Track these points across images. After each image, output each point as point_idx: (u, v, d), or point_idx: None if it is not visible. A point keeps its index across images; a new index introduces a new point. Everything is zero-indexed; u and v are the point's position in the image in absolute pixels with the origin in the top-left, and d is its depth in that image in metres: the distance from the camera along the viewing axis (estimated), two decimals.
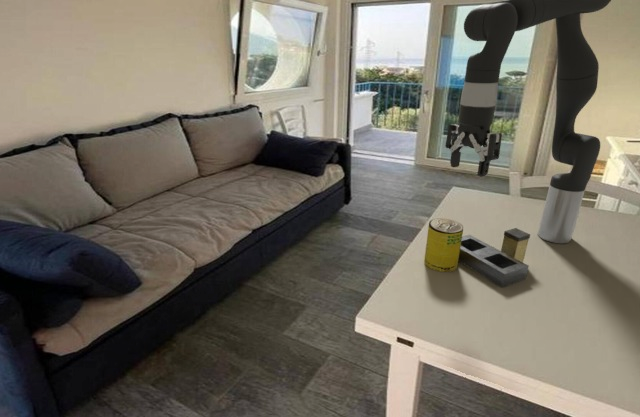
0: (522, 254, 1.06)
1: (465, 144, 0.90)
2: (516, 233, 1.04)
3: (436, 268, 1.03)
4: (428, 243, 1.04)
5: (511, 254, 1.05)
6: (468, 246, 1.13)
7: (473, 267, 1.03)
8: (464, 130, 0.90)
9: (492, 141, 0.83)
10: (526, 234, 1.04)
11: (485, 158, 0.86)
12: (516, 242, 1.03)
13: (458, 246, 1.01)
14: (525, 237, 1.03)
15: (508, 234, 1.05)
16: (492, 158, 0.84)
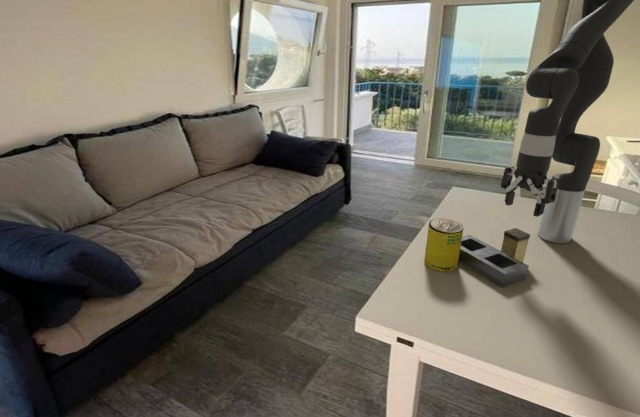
0: (522, 254, 1.06)
1: (521, 186, 1.00)
2: (516, 233, 1.04)
3: (436, 268, 1.03)
4: (428, 243, 1.04)
5: (511, 254, 1.05)
6: (468, 246, 1.13)
7: (473, 267, 1.03)
8: (521, 174, 0.99)
9: (550, 187, 0.93)
10: (526, 234, 1.04)
11: (542, 201, 0.95)
12: (516, 242, 1.03)
13: (458, 246, 1.01)
14: (525, 237, 1.03)
15: (508, 234, 1.05)
16: (549, 202, 0.94)
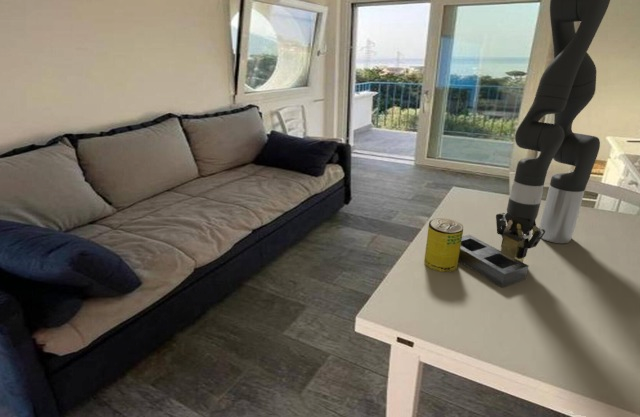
0: None
1: (515, 230, 1.04)
2: (516, 233, 1.04)
3: (436, 268, 1.03)
4: (428, 243, 1.04)
5: (511, 254, 1.05)
6: (468, 246, 1.13)
7: (473, 267, 1.03)
8: (510, 218, 1.04)
9: (536, 236, 0.98)
10: None
11: (524, 245, 1.02)
12: (516, 242, 1.03)
13: (458, 246, 1.01)
14: None
15: (508, 234, 1.05)
16: (531, 247, 1.01)
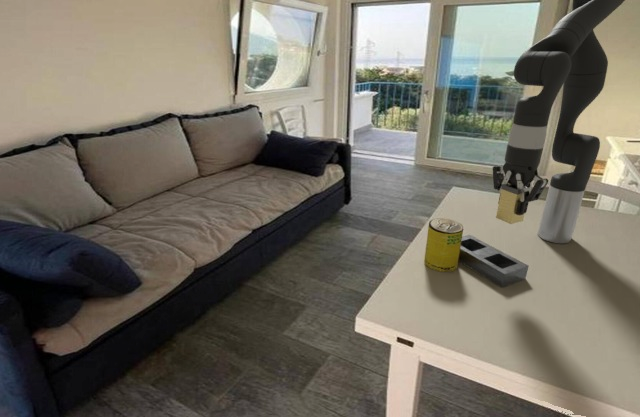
0: None
1: (514, 182, 0.91)
2: (515, 186, 0.92)
3: (436, 268, 1.03)
4: (428, 243, 1.04)
5: (509, 210, 0.93)
6: (468, 246, 1.13)
7: (473, 267, 1.03)
8: (509, 169, 0.92)
9: (538, 186, 0.86)
10: None
11: (525, 199, 0.90)
12: (515, 195, 0.90)
13: (458, 246, 1.01)
14: None
15: (506, 187, 0.92)
16: (532, 199, 0.88)
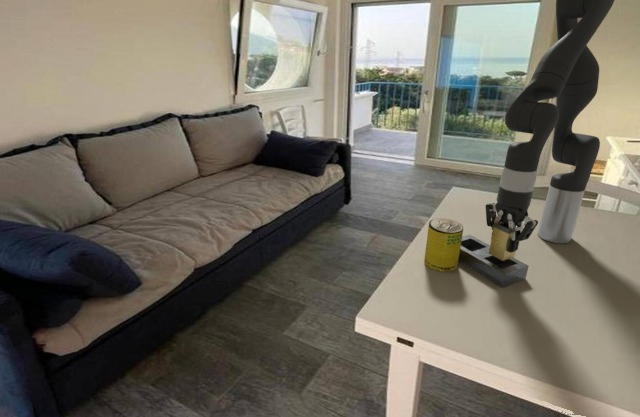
0: None
1: (505, 221, 0.95)
2: (506, 224, 0.96)
3: (436, 268, 1.03)
4: (428, 243, 1.04)
5: (501, 247, 0.97)
6: (468, 246, 1.13)
7: (473, 267, 1.03)
8: (501, 208, 0.96)
9: (528, 228, 0.90)
10: None
11: (516, 238, 0.94)
12: (506, 234, 0.94)
13: (458, 246, 1.01)
14: None
15: (498, 226, 0.96)
16: (523, 239, 0.92)
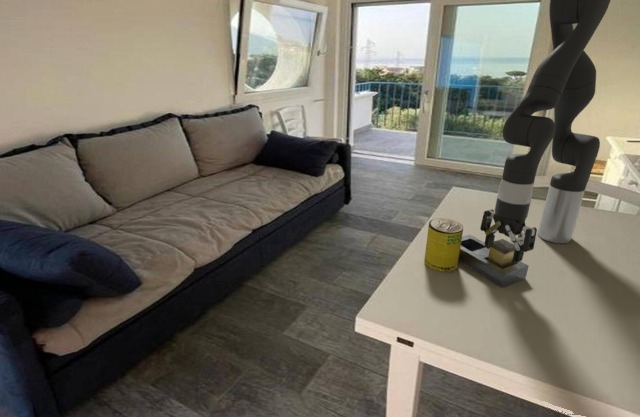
0: None
1: (500, 231, 0.97)
2: (502, 244, 0.98)
3: (436, 268, 1.03)
4: (428, 243, 1.04)
5: None
6: (468, 246, 1.13)
7: (473, 267, 1.03)
8: (500, 219, 0.97)
9: (528, 236, 0.90)
10: (513, 245, 0.98)
11: (520, 248, 0.93)
12: (502, 254, 0.97)
13: (458, 246, 1.01)
14: (512, 249, 0.97)
15: (494, 246, 0.99)
16: (527, 250, 0.92)
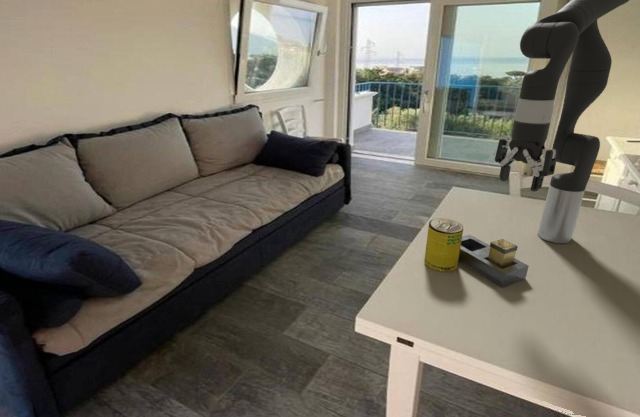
0: None
1: (517, 159, 0.91)
2: (502, 244, 0.98)
3: (436, 268, 1.03)
4: (428, 243, 1.04)
5: None
6: (468, 246, 1.13)
7: (473, 267, 1.03)
8: (517, 145, 0.90)
9: (548, 157, 0.84)
10: (513, 245, 0.98)
11: (540, 173, 0.87)
12: (502, 254, 0.97)
13: (458, 246, 1.01)
14: (512, 249, 0.97)
15: (494, 246, 0.98)
16: (548, 174, 0.85)
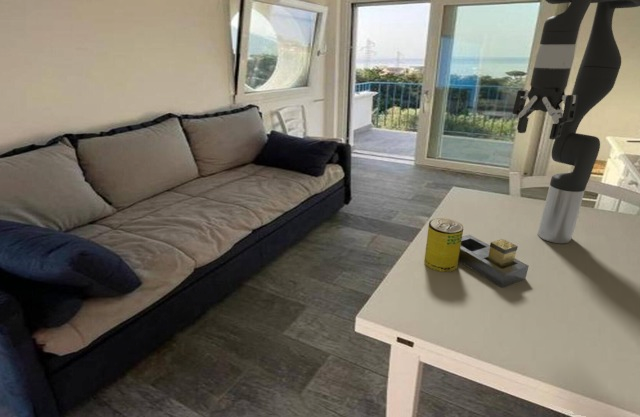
0: None
1: (536, 108, 0.91)
2: (502, 244, 0.98)
3: (436, 268, 1.03)
4: (428, 243, 1.04)
5: None
6: (468, 246, 1.13)
7: (473, 267, 1.03)
8: (536, 94, 0.91)
9: (569, 102, 0.84)
10: (513, 245, 0.98)
11: (559, 120, 0.87)
12: (502, 254, 0.97)
13: (458, 246, 1.01)
14: (512, 249, 0.97)
15: (494, 246, 0.98)
16: (568, 119, 0.86)
